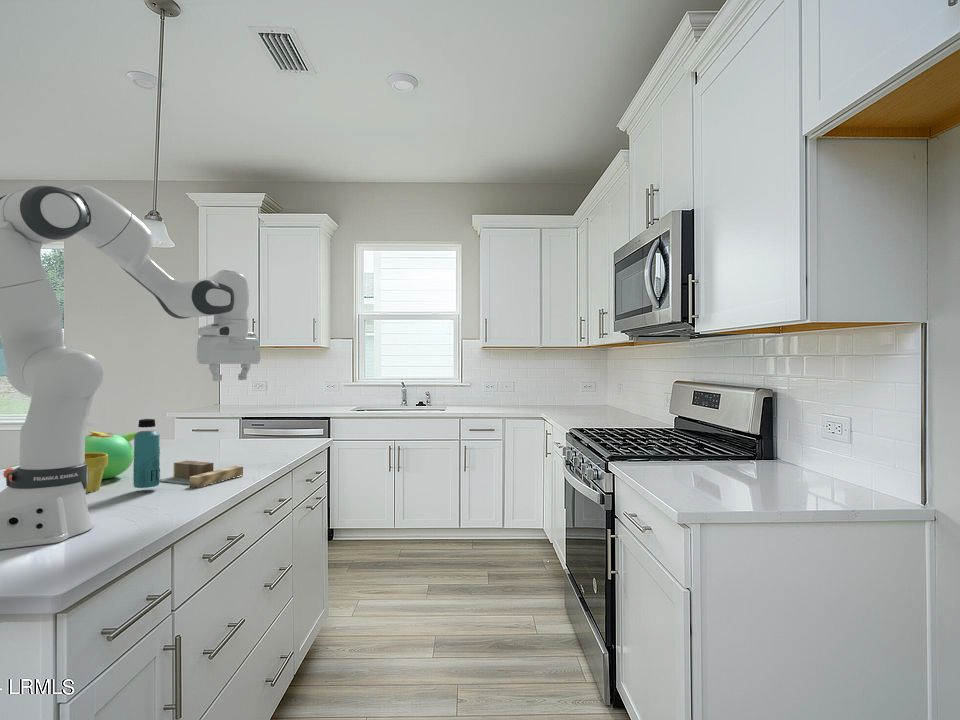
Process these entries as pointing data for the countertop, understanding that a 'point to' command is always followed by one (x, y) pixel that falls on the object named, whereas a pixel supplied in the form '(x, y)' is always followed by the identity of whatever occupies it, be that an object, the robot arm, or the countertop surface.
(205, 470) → the walnut block
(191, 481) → the oak rail
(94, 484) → the plant pot
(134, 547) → the countertop surface
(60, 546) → the countertop surface
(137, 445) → the beverage bottle
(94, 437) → the green rounded body
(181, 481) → the grey mat
